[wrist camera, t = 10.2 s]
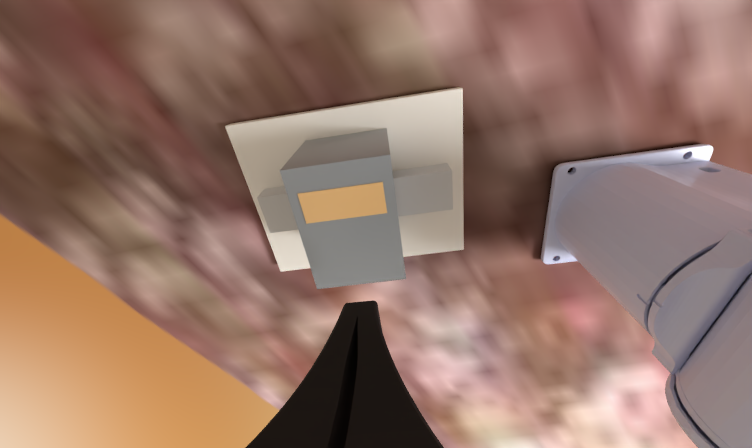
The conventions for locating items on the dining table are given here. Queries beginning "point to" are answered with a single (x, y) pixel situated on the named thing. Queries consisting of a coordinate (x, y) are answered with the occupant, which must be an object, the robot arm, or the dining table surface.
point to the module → (346, 208)
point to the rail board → (408, 158)
